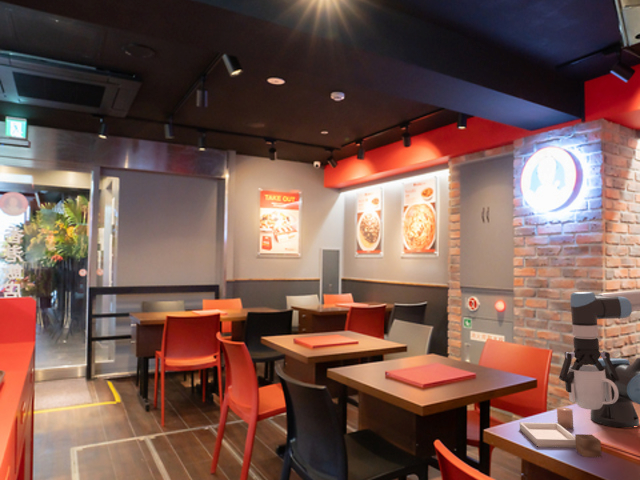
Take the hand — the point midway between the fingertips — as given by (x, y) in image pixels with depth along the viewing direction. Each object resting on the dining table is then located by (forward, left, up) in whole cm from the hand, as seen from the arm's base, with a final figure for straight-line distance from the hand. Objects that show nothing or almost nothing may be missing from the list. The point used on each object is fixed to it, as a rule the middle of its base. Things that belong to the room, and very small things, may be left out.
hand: (590, 401), depth 152 cm
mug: (-1, 0, -2) cm, 2 cm away
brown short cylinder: (+4, -10, -11) cm, 16 cm away
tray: (+15, +3, -11) cm, 19 cm away
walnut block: (+8, +15, -12) cm, 21 cm away
